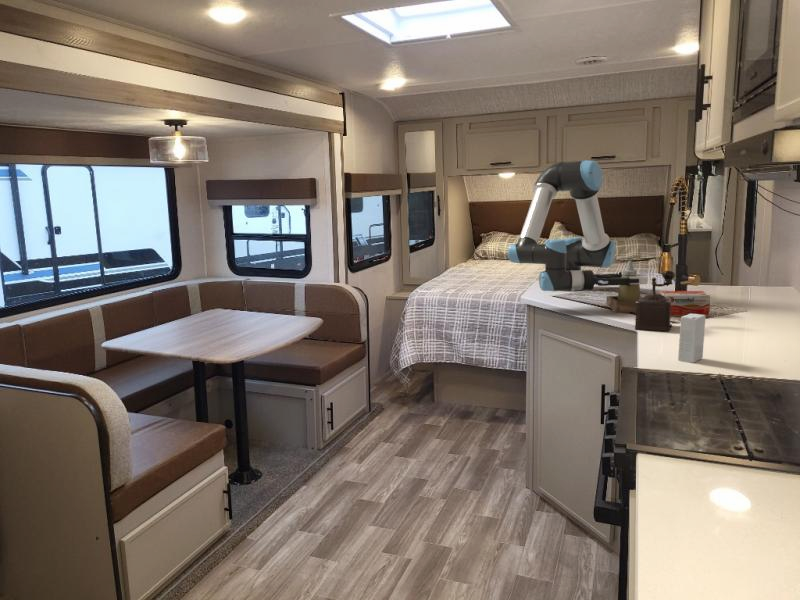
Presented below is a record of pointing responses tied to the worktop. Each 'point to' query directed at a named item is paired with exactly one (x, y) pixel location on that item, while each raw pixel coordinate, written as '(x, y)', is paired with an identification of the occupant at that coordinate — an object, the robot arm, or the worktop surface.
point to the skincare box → (691, 338)
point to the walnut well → (621, 305)
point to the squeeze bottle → (633, 290)
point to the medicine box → (688, 302)
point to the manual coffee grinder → (655, 308)
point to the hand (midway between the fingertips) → (643, 278)
